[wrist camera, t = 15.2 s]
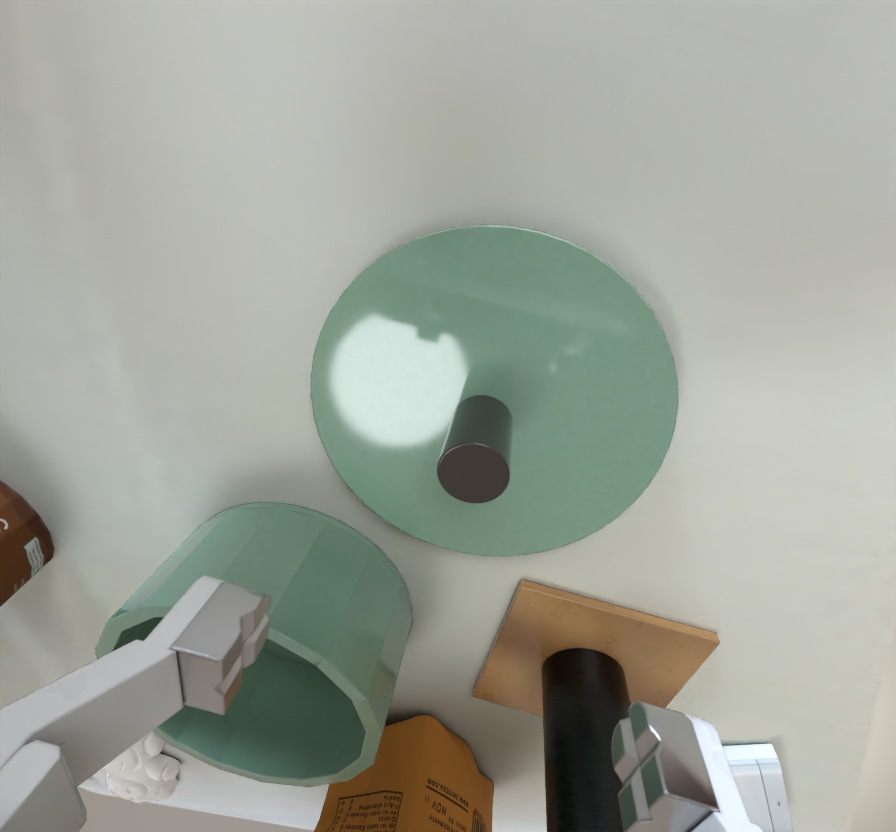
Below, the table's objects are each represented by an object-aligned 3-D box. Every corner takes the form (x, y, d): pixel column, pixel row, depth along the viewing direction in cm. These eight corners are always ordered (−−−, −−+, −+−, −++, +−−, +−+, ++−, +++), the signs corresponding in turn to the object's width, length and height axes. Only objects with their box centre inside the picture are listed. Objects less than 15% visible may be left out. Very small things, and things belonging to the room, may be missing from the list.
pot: (182, 473, 25) (68, 568, 18) (432, 542, 24) (401, 664, 18) (199, 632, 32) (120, 739, 25) (393, 689, 31) (361, 812, 25)
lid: (334, 178, 16) (263, 174, 12) (746, 280, 16) (834, 316, 11) (310, 496, 24) (261, 567, 19) (589, 573, 23) (605, 665, 19)
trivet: (520, 578, 24) (520, 587, 24) (716, 632, 24) (720, 642, 23) (473, 688, 29) (472, 697, 29) (633, 734, 29) (635, 744, 29)
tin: (556, 638, 25) (569, 827, 18) (638, 661, 25) (686, 862, 17) (531, 684, 27) (533, 869, 20) (606, 706, 27) (636, 901, 20)
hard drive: (603, 834, 33) (796, 838, 29) (573, 775, 30) (783, 770, 26) (600, 806, 34) (783, 806, 30) (571, 748, 31) (770, 739, 27)
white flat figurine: (114, 767, 45) (89, 804, 43) (80, 702, 40) (48, 739, 37) (192, 788, 45) (171, 826, 42) (168, 724, 39) (142, 763, 36)
